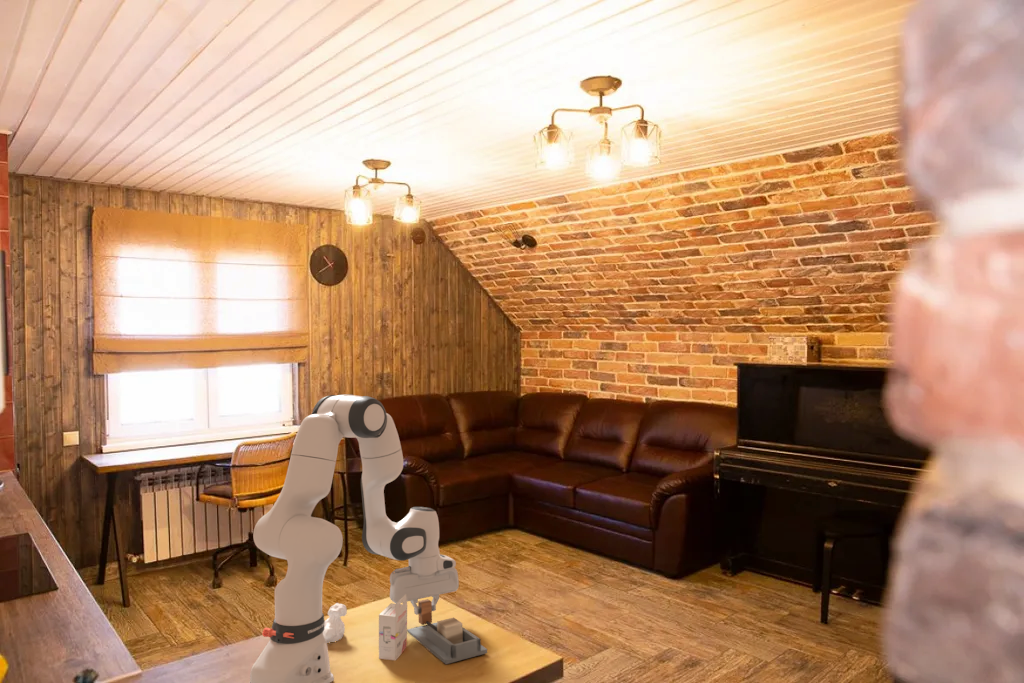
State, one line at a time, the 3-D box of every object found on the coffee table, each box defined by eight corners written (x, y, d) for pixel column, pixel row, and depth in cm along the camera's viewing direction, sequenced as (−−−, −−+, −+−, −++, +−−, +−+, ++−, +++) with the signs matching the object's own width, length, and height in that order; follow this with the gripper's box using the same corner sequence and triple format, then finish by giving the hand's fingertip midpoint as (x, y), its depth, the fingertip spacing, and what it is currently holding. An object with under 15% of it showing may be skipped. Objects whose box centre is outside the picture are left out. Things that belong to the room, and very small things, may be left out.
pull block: (462, 642, 197) (462, 619, 197) (445, 646, 195) (445, 623, 195) (431, 619, 213) (431, 598, 213) (415, 623, 211) (415, 601, 211)
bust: (328, 658, 197) (355, 625, 197) (305, 641, 196) (332, 607, 197) (336, 639, 209) (361, 608, 209) (314, 623, 208) (340, 591, 209)
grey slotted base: (487, 652, 193) (486, 637, 193) (445, 664, 187) (445, 648, 187) (445, 623, 214) (445, 609, 214) (407, 633, 207) (406, 618, 207)
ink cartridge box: (389, 646, 198) (390, 591, 198) (407, 648, 197) (408, 593, 197) (377, 659, 190) (378, 602, 190) (395, 662, 189) (396, 604, 189)
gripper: (394, 573, 203) (395, 623, 203) (460, 560, 214) (461, 608, 214) (385, 567, 208) (386, 616, 208) (450, 555, 219) (451, 601, 219)
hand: (425, 612), depth 211 cm, fingers closed on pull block, 3 cm apart
